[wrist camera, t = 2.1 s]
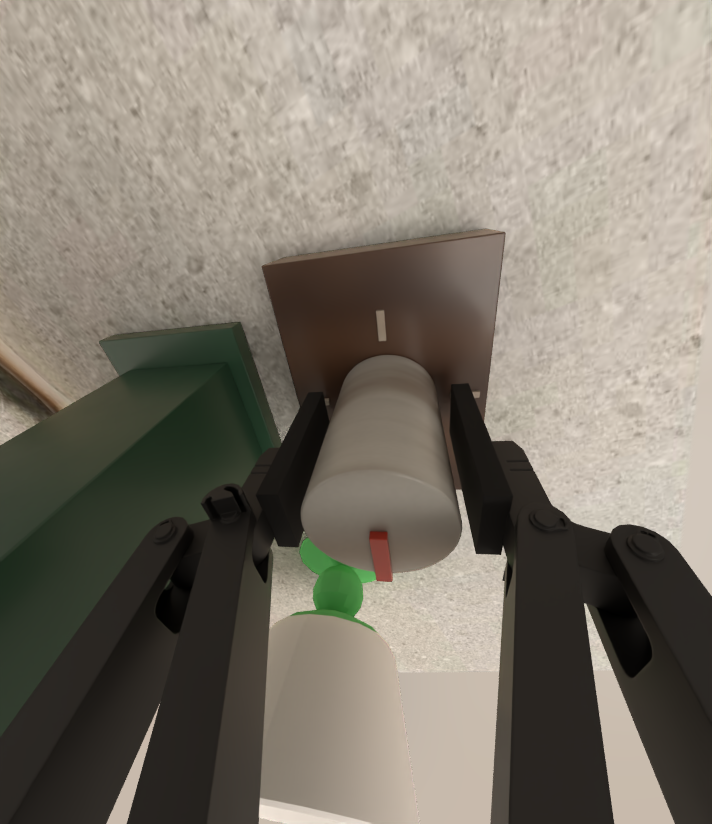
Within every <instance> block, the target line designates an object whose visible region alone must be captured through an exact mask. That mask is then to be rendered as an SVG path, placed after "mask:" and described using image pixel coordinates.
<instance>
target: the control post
mask: <svg viewBox="0 0 712 824" xmlns="http://www.w3.org/2000/svg"><path fill="white" fill-rule="evenodd" d="M99 343H100V345H101V347H102V348H103V350H104V352H105V353H106V355H107V356H108V358H109V360H110V361H111V363H112V365H113V366H114V368H115V370H116V371H117V373H118V374H119V377H117V378H116V379H114V380H112V381H110V382H109V383H107V384H105V385H103V386H102V387H100V388H98V389H97V390H95V391H93V392H91V393H90V394H88V395H86V396H85V397H83V398H81V399H79V400H78V401H76V402H74V403H73V404H71V405H69V406H67V407H66V408H64V409H62V410H60V411H59V412H57V413H55V414H54V415H52V416H50V417H48V418H47V419H45V420H43V421H42V422H40V423H38V424H36V425H35V426H33V427H31V428H30V429H28V430H26V431H24V432H23V433H21V434H19V435H17V436H16V437H14V438H12V439H11V440H9V441H7V442H5V443H4V444H2V445H0V737H1V736H2V734H3V733H4V731H5V730H6V729H7V727H8V726H9V724H10V723H11V722H12V720H13V719H14V717H15V716H16V715H17V713H18V712H19V711H20V709H21V708H22V706H23V705H24V704H25V702H26V701H27V699H28V698H29V697H30V695H31V694H32V693H33V691H34V690H35V688H36V687H37V686H38V684H39V683H40V681H41V680H42V679H43V677H44V676H45V675H46V673H47V672H48V670H49V669H50V668H51V666H52V665H53V663H54V662H55V661H56V659H57V658H58V657H59V655H60V654H61V652H62V651H63V650H64V648H65V647H66V645H67V644H68V643H69V641H70V640H71V638H72V637H73V636H74V634H75V633H76V632H77V630H78V629H79V627H80V626H81V625H82V623H83V622H84V620H85V619H86V618H87V616H88V615H89V614H90V612H91V611H92V609H93V608H94V607H95V605H96V604H97V602H98V601H99V600H100V598H101V597H102V596H103V594H104V593H105V591H106V590H107V589H108V587H109V586H110V584H111V583H112V582H113V580H114V579H115V577H116V576H117V575H118V573H119V572H120V571H121V569H122V568H123V566H124V565H125V564H126V562H127V561H128V559H129V558H130V557H131V555H132V554H133V553H134V551H135V550H136V548H137V547H138V546H139V544H140V543H141V541H142V540H143V539H144V537H145V536H146V535H147V533H148V532H149V531H150V530H151V529H152V528H153V527H154V526H156V525H157V524H158V523H160V522H161V521H164V520H166V519H168V518H172V517H183V518H184V519H185V520H186V521H187V523H188V524H189V525H190V524H194V523H197V522H201V521H205V520H209V517H208V515H207V514H206V512H205V510H204V509H203V507H202V505H201V502H202V500H203V498H204V497H205V496H206V495H207V494H208V493H209V492H210V491H211V490H213V489H215V488H216V487H218V486H221V485H224V484H231V483H234V484H237V485H239V486H240V487H241V488H242V486H243V484H244V483H245V481H246V479H247V478H248V476H249V474H251V471H252V469H253V467H255V464H256V462H257V460H258V459H259V457H260V455H262V454H263V453H264V452H265V451H266V450H267V449H268V448H278V447H280V446H281V444H282V443H281V440H280V437H279V434H278V431H277V429H276V426H275V423H274V420H273V417H272V414H271V411H270V408H269V405H268V402H267V399H266V396H265V393H264V390H263V387H262V384H261V381H260V378H259V375H258V372H257V369H256V367H255V364H254V361H253V358H252V355H251V352H250V349H249V346H248V343H247V340H246V337H245V334H244V331H243V328H242V325H241V323H240V322H235V323H225V324H216V325H206V326H197V327H187V328H178V329H168V330H159V331H149V332H140V333H130V334H121V335H113V336H110V337H108V338H106V339H103V340H101V341H99ZM170 581H171V580H170V579H169V581H168V583H167V585H166V586H165V588H166V587H167V586H168V585H169V583H170ZM165 588H164V589H165Z"/></svg>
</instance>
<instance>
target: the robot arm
mask: <svg viewBox="0 0 712 824" xmlns="http://www.w3.org/2000/svg"><path fill="white" fill-rule="evenodd" d="M329 423H330V421H329V417H328V412H327V408H326V403H325V398H324V394H323V392H308V394H307V396H306V398H305V400H304V402H303V404H302V406H301V408H300V409H299V411H298V413H297V415H296V417H295V419H294V421H293V423H292V425H291V427H290V429H289V431H288V433H287V435H286V437H285V439H284V440H283V442H282V444H281V446H280V447H278V448H268V449H267V450H266V451H265V452H264V453H263V454H262V455H260V457H259V459H258V460H257V462H256V464H255V467H253V469H252V471H251V474H249V476H248V478H247V479H246V481H245V483H244V484H243V486H242V488H241V487H240V486H239V485H237V484H234V483H231V484H224V485H221V486H218V487H216V488H215V489H213V490H211V491H210V492H209V493H208V494H207V495H206V496H205V497H204V498H203V500H202V502H201V505H202V507H203V509H204V510H205V512H206V514H207V515H208V517H209V520H205V521H201V522H197V523H194V524H190V525H189V524H188V523H187V521H186V520H185V519H184V518H183V517H172V518H168V519H166V520H164V521H161V522H160V523H158V524H157V525H156V526H154V527H153V528H152V529H151V530H150V531H149V532H148V533H147V535H146V536H145V537H144V539H143V540H142V541H141V543H140V544H139V546H138V547H137V548H136V550H135V551H134V553H133V554H132V555H131V557H130V558H129V559H128V561H127V562H126V564H125V565H124V566H123V568H122V569H121V571H120V572H119V573H118V575H117V576H116V577H115V579H114V580H113V582H112V583H111V584H110V586H109V587H108V589H107V590H106V591H105V593H104V594H103V596H102V597H101V598H100V600H99V601H98V602H97V604H96V605H95V607H94V608H93V609H92V611H91V612H90V614H89V615H88V616H87V618H86V619H85V620H84V622H83V623H82V625H81V626H80V627H79V629H78V630H77V632H76V633H75V634H74V636H73V637H72V638H71V640H70V641H69V643H68V644H67V645H66V647H65V648H64V650H63V651H62V652H61V654H60V655H59V657H58V658H57V659H56V661H55V662H54V663H53V665H52V666H51V668H50V669H49V670H48V672H47V673H46V675H45V676H44V677H43V679H42V680H41V681H40V683H39V684H38V686H37V687H36V688H35V690H34V691H33V693H32V694H31V695H30V697H29V698H28V699H27V701H26V702H25V704H24V705H23V706H22V708H21V709H20V711H19V712H18V713H17V715H16V716H15V717H14V719H13V720H12V722H11V723H10V724H9V726H8V727H7V729H6V730H5V731H4V733H3V734H2V736H1V737H0V824H106V823H107V821H108V818H109V816H110V814H111V811H112V809H113V807H114V805H115V802H116V800H117V798H118V796H119V794H120V791H121V789H122V787H123V785H124V782H125V780H126V778H127V775H128V773H129V771H130V769H131V767H132V764H133V762H134V760H135V758H136V755H137V753H138V751H139V749H140V746H141V744H142V742H143V740H144V737H145V735H146V733H147V731H148V728H149V726H150V724H151V722H152V719H153V717H154V715H155V713H156V710H157V708H158V706H159V704H160V706H159V709H158V713H157V716H156V720H155V724H154V727H153V731H152V735H151V738H150V742H149V745H148V749H147V753H146V756H145V760H144V764H143V767H142V771H141V774H140V778H139V782H138V785H137V789H136V792H135V796H134V800H133V803H132V807H131V811H130V814H129V818H128V821H127V824H258V822H259V805H260V786H261V768H262V750H263V732H264V713H265V695H266V677H267V659H268V641H269V622H270V604H271V586H272V568H273V554H272V550H271V548H270V547H271V544H272V542H273V539H274V537H275V539H276V542H277V544H278V546H281V547H299V543H300V540H301V537H302V534H303V530H304V529H303V526H302V522H301V513H300V512H301V506H302V503H303V500H304V497H305V494H306V491H307V488H308V485H309V482H310V479H311V476H312V473H313V470H314V467H315V464H316V462H317V459H318V456H319V453H320V450H321V447H322V444H323V441H324V438H325V435H326V432H327V429H328V426H329ZM449 433H450V437H451V442H452V447H453V451H454V456H455V460H456V465H457V469H458V474H459V478H460V483H461V488H462V492H463V497H464V501H465V506H466V510H467V515H468V520H469V524H470V529H471V533H472V538H473V542H474V547H475V551H476V554H495V555H501V552H502V547H503V546H504V550H505V553H506V556H507V563H506V567H505V571H504V576H503V581H505V584H504V601H503V619H502V636H501V653H500V670H499V689H498V706H497V722H496V739H495V756H494V773H493V791H492V808H491V824H614V819H613V812H612V805H611V797H610V790H609V784H608V775H607V768H606V761H605V754H604V748H603V747H604V746H603V739H602V732H601V725H600V717H599V710H598V703H597V695H596V689H595V681H594V674H593V666H592V659H591V652H590V644H589V637H588V630H587V623H586V615H585V608H584V603H586V604H587V606H588V609H589V611H590V614H591V616H592V619H593V621H594V624H595V626H596V629H597V631H598V634H599V636H600V639H601V641H602V644H603V646H604V649H605V651H606V654H607V656H608V659H609V661H610V664H611V666H612V669H613V671H614V673H615V676H616V678H617V681H618V683H619V686H620V688H621V691H622V693H623V696H624V698H625V700H626V703H627V706H628V708H629V711H630V713H631V716H632V718H633V721H634V723H635V726H636V728H637V731H638V733H639V736H640V738H641V741H642V743H643V746H644V748H645V750H646V753H647V755H648V758H649V760H650V763H651V765H652V768H653V770H654V773H655V775H656V778H657V780H658V782H659V785H660V788H661V790H662V793H663V795H664V798H665V800H666V803H667V805H668V808H669V810H670V813H671V815H672V817H673V820H674V822H675V824H712V596H711V595H710V593H709V592H708V591H707V589H706V588H705V587H704V586H703V584H702V583H701V581H700V580H699V579H698V577H697V576H696V574H695V573H694V572H693V570H692V569H691V568H690V566H689V565H688V564H687V562H686V561H685V559H684V558H683V557H682V555H681V554H680V553H679V551H678V550H677V549H676V548H675V547H674V546H673V545H672V544H671V543H670V542H669V541H668V540H667V539H665V538H664V537H662V536H661V535H659V534H658V533H656V532H654V531H651V530H649V529H647V528H644V527H641V526H636V525H630V524H629V525H619V526H617V527H616V528H614V529H613V530H612V532H611V533H607V532H603V531H599V530H596V529H592V528H588V527H584V526H581V525H578V524H576V523H574V522H572V521H570V519H569V518H568V517H567V516H566V515H565V514H564V513H563V512H562V511H560V510H558V509H557V508H555V507H553V506H552V504H551V503H550V501H549V499H548V497H547V495H546V493H545V491H544V489H543V487H542V485H541V483H540V481H539V479H538V477H537V476H536V474H535V472H534V471H533V468H532V466H531V464H530V462H529V460H528V458H527V456H526V454H525V452H524V450H523V449H522V448H520V447H519V446H518V445H517V444H516V443H515V442H513V441H491V439H490V436H489V433H488V431H487V428H486V426H485V423H484V421H483V418H482V416H481V413H480V411H479V408H478V406H477V403H476V401H475V398H474V396H473V393H472V390H471V388H470V385H469V383H463V384H451V402H450V427H449ZM169 579H170V580H171V581H170V583H169V585H168V586H167V587H166V588H165V586H166V585H167V583H168V581H169ZM164 588H165V589H164ZM160 701H161V702H160Z"/></svg>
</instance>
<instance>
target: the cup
mask: <svg viewBox="0 0 712 824" xmlns="http://www.w3.org/2000/svg"><path fill="white" fill-rule="evenodd" d="M299 552H300V555H301V558H302V561H303V563H304V564H305V565H306V566H307V567H308V568H309V569H310V570H311V571H313V572H314V573H316V574H318V575H319V577H318V579H317V582H316V584H315V586H314V588H313V601H314V604H315V607H316V609H317V610H312V611H303V612H296V613H294V614H292V615H290V616H288V617H286V618H284V619H282V620H280V621H278V622H276V623H275V624H274V625H273V626H272V627H271V628H270V629H269V641H268V659H267V677H266V695H265V713H264V732H263V750H262V768H261V786H260V805H259V818H263V819H267V820H271V821H275V822H280V823H284V824H420V821H419V814H418V807H417V801H416V794H415V788H414V780H413V774H412V767H411V761H410V753H409V747H408V740H407V733H406V727H405V720H404V713H403V706H402V699H401V692H400V686H399V679H398V672H397V665H396V659H395V657H394V655H393V653H392V651H391V649H390V646H389V644H388V643H387V642H386V641H385V640H384V639H383V638H382V637H381V636H380V635H379V634H378V633H377V632H376V631H375V630H374V629H373V628H372V627H371V626H369V625H368V624H366V623H364V622H362V621H360V620H358V619H356V618H354V616H355V614H356V613H357V612H358V611H359V609H360V608H361V604H362V601H363V588H362V583H367V582H372V581H374V580H376V575H375V572H372V571H366V570H362V569H357V568H354V567H351V566H348V565H346V564H343V563H341V562H339V561H337V560H334V559H333V558H331V557H329V556H328V555H326V554H325V553H323V552H322V551H321V550H319V549H318V548H317V547H316V546H315V545H314V544H313V543H312V542H311V540H310V539H309V538H307V539H305V540H304V541H303V543H302V545H301V548H300V551H299Z"/></svg>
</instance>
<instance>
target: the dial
mask: <svg viewBox="0 0 712 824" xmlns="http://www.w3.org/2000/svg"><path fill="white" fill-rule="evenodd" d="M300 513H301V522H302V526H303V529H304V531H305V533H306V535H307V536H308V538H309V539H310V540H311V542H312V543H313V544H314V545H315V546H316V547H317V548H318V549H319V550H321V551H322V552H323V553H325V554H326V555H328V556H329V557H331V558H333V559H334V560H337V561H339V562H341V563H343V564H346V565H348V566H351V567H354V568H357V569H362V570H366V571H372V572H375V575H376V580H377V581H385V582H392V581H393V573H403V572H410V571H415V570H420V569H423V568H426V567H429V566H431V565H434V564H436V563H438V562H439V561H441V560H443V559H444V558H445V557H447V556H448V555H449V554H450V553H451V552H452V551H453V550H454V548H455V547H456V546H457V544H458V542H459V539H460V537H461V532H462V520H461V515H460V510H459V505H458V500H457V495H456V490H455V485H454V479H453V474H452V469H451V464H450V459H449V454H448V449H447V444H446V439H445V434H444V428H443V423H442V418H441V413H440V408H439V403H438V398H437V393H436V388H435V385H434V382H433V380H432V378H431V376H430V375H429V374H428V372H427V371H426V370H425V369H424V368H423V367H422V366H420V365H419V364H418V363H416V362H414V361H412V360H410V359H408V358H405V357H401V356H397V355H380V356H375V357H371V358H369V359H366V360H364V361H362V362H360V363H359V364H357V365H356V366H355V367H354V368H353V369H352V370H351V371H350V372H349V373H348V375H347V376H346V378H345V380H344V382H343V385H342V388H341V391H340V394H339V397H338V400H337V403H336V406H335V409H334V412H333V414H332V417H331V420H330V423H329V426H328V429H327V432H326V435H325V438H324V441H323V444H322V447H321V450H320V453H319V456H318V459H317V462H316V464H315V467H314V470H313V473H312V476H311V479H310V482H309V485H308V488H307V491H306V494H305V497H304V500H303V503H302V506H301V512H300Z"/></svg>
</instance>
